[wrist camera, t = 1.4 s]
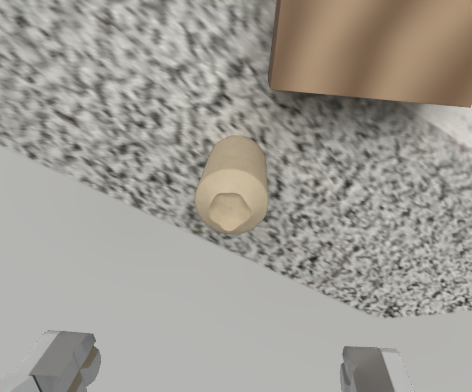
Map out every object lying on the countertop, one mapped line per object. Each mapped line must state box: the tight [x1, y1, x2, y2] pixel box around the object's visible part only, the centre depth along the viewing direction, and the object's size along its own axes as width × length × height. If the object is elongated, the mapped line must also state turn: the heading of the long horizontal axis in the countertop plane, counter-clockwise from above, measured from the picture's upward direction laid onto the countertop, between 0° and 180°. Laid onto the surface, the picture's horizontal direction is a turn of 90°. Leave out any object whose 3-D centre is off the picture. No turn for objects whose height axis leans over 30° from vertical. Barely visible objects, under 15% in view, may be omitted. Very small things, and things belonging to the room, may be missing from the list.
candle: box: [195, 136, 268, 234], centre depth 28 cm, size 6×6×10 cm
